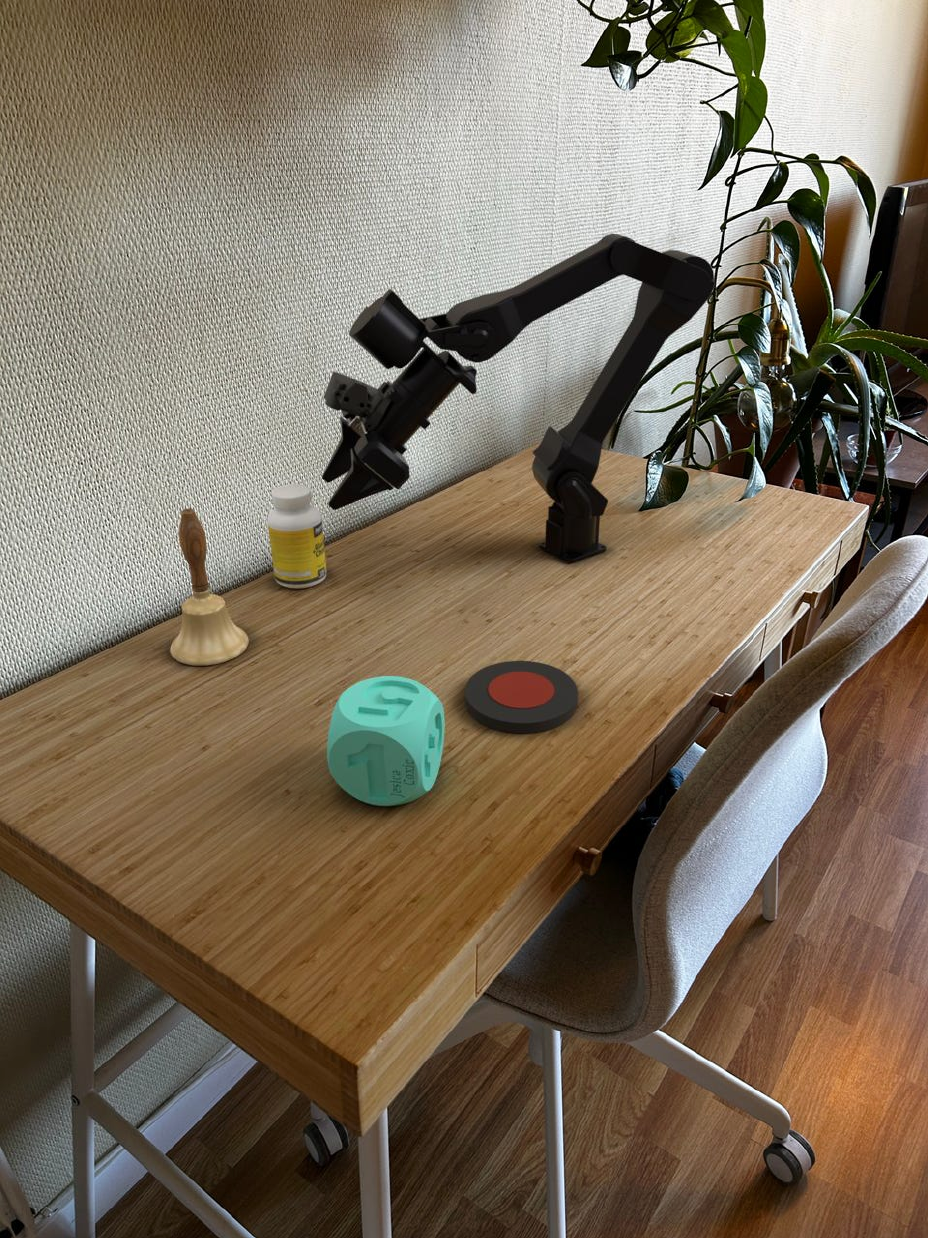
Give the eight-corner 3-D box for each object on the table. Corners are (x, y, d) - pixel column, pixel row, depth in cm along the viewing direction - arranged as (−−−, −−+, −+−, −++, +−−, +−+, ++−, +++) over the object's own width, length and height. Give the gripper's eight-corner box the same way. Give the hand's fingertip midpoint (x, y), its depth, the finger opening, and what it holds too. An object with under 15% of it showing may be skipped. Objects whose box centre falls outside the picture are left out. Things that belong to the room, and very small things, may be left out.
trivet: (529, 659, 96) (529, 648, 95) (601, 706, 88) (602, 695, 87) (443, 694, 90) (442, 683, 90) (511, 748, 83) (511, 736, 82)
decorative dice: (330, 800, 77) (322, 722, 73) (361, 744, 83) (354, 670, 80) (422, 813, 75) (418, 734, 71) (446, 755, 82) (443, 680, 78)
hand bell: (263, 634, 102) (243, 499, 94) (222, 671, 95) (198, 530, 87) (199, 623, 104) (175, 491, 96) (154, 659, 97) (125, 520, 90)
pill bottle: (317, 592, 110) (307, 502, 105) (266, 588, 111) (254, 499, 106) (334, 569, 116) (326, 482, 110) (286, 565, 117) (275, 479, 111)
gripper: (354, 331, 110) (271, 427, 113) (373, 367, 94) (276, 478, 97) (420, 392, 115) (339, 482, 119) (450, 436, 99) (355, 539, 103)
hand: (327, 493), depth 109 cm, fingers open, 9 cm apart
